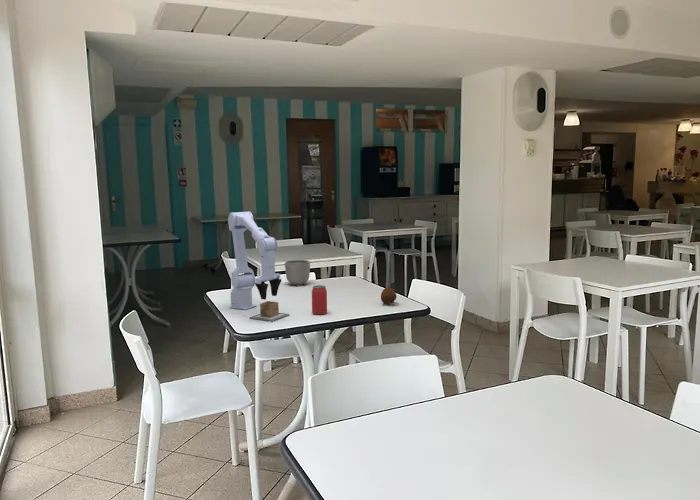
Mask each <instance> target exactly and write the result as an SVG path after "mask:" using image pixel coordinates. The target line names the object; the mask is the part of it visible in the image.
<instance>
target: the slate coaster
mask: <svg viewBox="0 0 700 500" xmlns="http://www.w3.org/2000/svg"><path fill="white" fill-rule="evenodd" d="M288 316H290V314H289V313H285V312H279V315H277V316H274V317H272V318H269V317H262V316H261V315H260V313H257V314H255V315H252V316H249V319H250V320H257V321H263V322H269V321H271V323H274V322H277V321H279V320H282V319H284V318H286V317H288ZM273 321H274V322H273Z"/></svg>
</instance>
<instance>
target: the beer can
mask: <svg viewBox="0 0 700 500" xmlns="http://www.w3.org/2000/svg"><path fill="white" fill-rule="evenodd" d="M327 291H328V290H327V288H326V286H325V285H322V284H321V285H320V284H318V285H314V286H312V289H311V313H312V314H313V315H317V316H318V315H319V316H321V315H326V314H327V313H328V294H327V293H328V292H327Z"/></svg>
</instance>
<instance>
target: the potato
mask: <svg viewBox="0 0 700 500" xmlns="http://www.w3.org/2000/svg"><path fill="white" fill-rule="evenodd" d="M396 299H397V293H396V292H395V290H394V289H393V288H392V287H385V288H384V289H382V292H381V294H380V301H381V303H383V304H388V305H389V304H392V303H394V302H395V301H396Z"/></svg>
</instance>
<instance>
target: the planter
mask: <svg viewBox="0 0 700 500" xmlns="http://www.w3.org/2000/svg"><path fill="white" fill-rule="evenodd" d="M284 269H285V276H286V281H288V282H289V283H290V285H291V286H293V285H302V286H304V285H305V284H306V283H307V282H308V281H309V278H310V271H311V261H310V260H307V259H292V260H286V261H284ZM303 284H304V285H303Z"/></svg>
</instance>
